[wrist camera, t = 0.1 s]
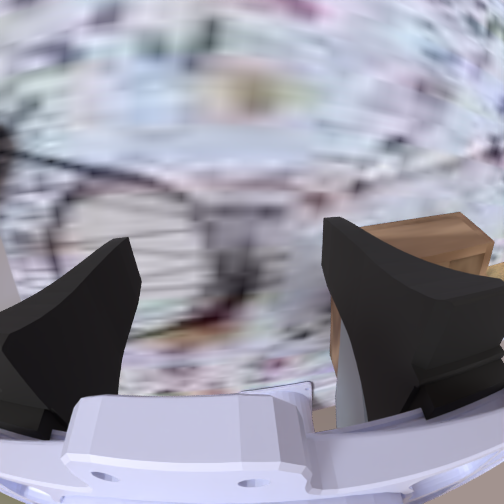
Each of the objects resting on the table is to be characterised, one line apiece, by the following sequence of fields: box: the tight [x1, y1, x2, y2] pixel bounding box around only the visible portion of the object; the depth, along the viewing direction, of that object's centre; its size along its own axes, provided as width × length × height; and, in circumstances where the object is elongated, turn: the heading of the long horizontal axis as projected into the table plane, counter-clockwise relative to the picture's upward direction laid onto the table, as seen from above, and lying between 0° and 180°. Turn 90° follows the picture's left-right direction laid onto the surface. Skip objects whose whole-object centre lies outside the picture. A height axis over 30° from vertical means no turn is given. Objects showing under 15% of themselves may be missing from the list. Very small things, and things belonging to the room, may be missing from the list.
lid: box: [335, 319, 368, 428], centre depth 17 cm, size 14×12×1 cm
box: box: [330, 212, 494, 377], centre depth 24 cm, size 14×12×5 cm
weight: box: [485, 262, 504, 281], centre depth 26 cm, size 4×4×4 cm
